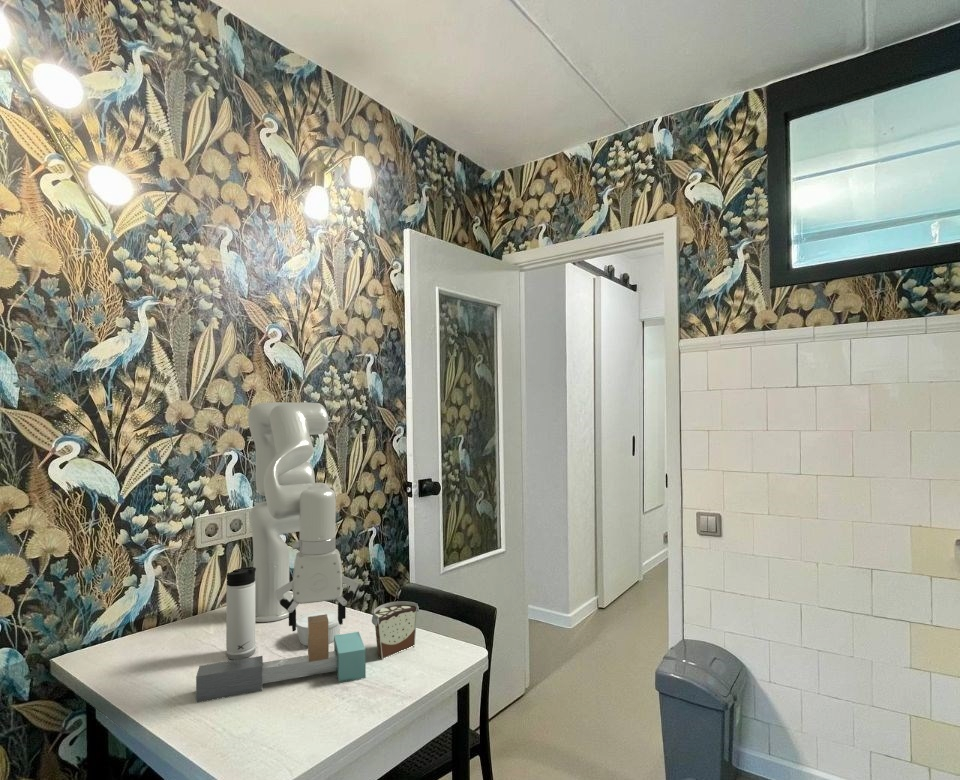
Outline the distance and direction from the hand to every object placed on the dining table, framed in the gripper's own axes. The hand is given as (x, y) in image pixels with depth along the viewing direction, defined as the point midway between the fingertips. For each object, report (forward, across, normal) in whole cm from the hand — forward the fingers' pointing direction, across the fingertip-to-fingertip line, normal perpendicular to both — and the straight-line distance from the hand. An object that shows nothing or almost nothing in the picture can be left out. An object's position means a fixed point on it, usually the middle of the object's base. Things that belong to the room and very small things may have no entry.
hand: (317, 625), depth 119 cm
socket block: (+10, +7, -1) cm, 12 cm away
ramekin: (+11, +2, +19) cm, 22 cm away
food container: (+11, +17, +6) cm, 21 cm away
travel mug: (+11, -16, +17) cm, 26 cm away
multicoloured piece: (+9, -3, -1) cm, 10 cm away
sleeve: (+10, -17, -1) cm, 20 cm away
